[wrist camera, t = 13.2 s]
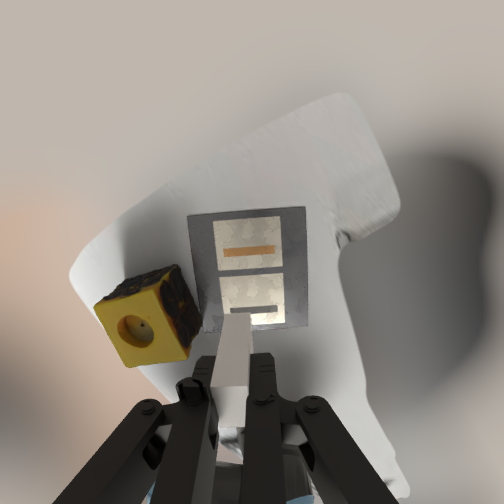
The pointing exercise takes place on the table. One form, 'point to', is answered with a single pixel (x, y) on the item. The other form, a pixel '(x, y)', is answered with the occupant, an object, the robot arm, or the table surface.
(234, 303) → the label plate
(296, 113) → the table surface
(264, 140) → the table surface
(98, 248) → the table surface
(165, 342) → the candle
